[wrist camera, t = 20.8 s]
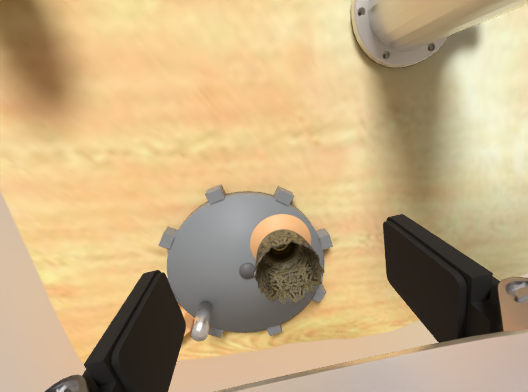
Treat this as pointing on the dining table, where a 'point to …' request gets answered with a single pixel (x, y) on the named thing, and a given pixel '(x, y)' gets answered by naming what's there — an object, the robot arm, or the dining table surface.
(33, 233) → the dining table surface
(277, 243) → the cup
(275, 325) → the index wheel
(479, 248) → the dining table surface
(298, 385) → the robot arm
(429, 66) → the dining table surface
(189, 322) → the peach rectangular brick
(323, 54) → the dining table surface
